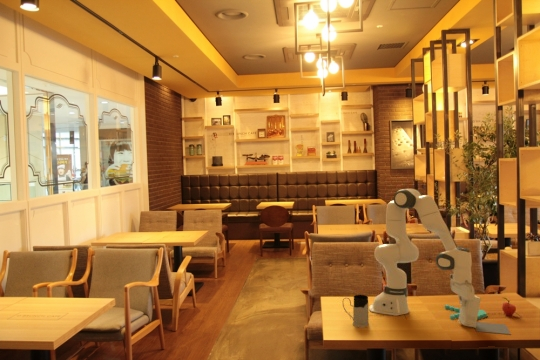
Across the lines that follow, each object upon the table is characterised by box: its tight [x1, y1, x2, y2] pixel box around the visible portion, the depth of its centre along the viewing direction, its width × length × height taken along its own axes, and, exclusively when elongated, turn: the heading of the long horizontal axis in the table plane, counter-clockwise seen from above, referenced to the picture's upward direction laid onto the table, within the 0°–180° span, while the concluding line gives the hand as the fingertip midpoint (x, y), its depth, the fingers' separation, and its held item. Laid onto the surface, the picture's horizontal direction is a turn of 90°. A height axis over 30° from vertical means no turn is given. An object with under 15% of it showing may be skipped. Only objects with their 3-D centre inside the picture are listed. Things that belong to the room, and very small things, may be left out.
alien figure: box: [444, 304, 488, 320], centre depth 266 cm, size 20×2×20 cm
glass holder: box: [342, 294, 370, 328], centre depth 252 cm, size 9×14×15 cm, turn 70°
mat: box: [474, 321, 512, 336], centre depth 244 cm, size 16×14×1 cm
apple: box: [501, 297, 517, 317], centre depth 263 cm, size 8×7×10 cm
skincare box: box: [457, 295, 482, 329], centre depth 247 cm, size 8×7×16 cm
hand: (462, 304), depth 247 cm, fingers closed
